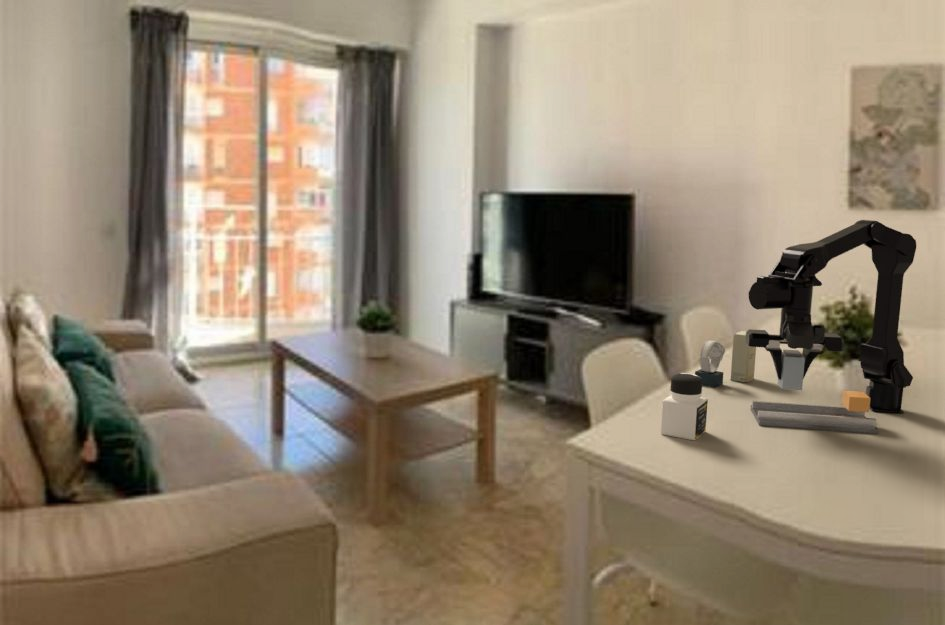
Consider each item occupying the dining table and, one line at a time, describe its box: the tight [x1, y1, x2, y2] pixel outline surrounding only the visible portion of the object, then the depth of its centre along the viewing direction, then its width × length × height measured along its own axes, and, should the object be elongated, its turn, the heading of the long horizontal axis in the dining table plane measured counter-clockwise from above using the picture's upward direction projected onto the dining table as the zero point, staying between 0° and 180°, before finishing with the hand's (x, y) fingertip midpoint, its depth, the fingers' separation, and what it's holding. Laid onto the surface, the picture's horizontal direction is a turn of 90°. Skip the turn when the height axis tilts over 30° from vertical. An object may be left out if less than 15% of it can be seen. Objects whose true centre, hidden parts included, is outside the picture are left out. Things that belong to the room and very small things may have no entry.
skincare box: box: [730, 330, 757, 383], centre depth 203 cm, size 6×4×12 cm
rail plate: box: [750, 400, 879, 435], centre depth 169 cm, size 23×12×2 cm, turn 79°
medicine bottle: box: [660, 372, 709, 441], centre depth 159 cm, size 7×7×12 cm
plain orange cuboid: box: [841, 390, 870, 413], centre depth 167 cm, size 4×5×3 cm
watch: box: [694, 339, 726, 389], centre depth 198 cm, size 6×8×11 cm
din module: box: [777, 349, 805, 391], centre depth 168 cm, size 4×5×8 cm
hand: (790, 379), depth 169 cm, fingers closed on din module, 4 cm apart
